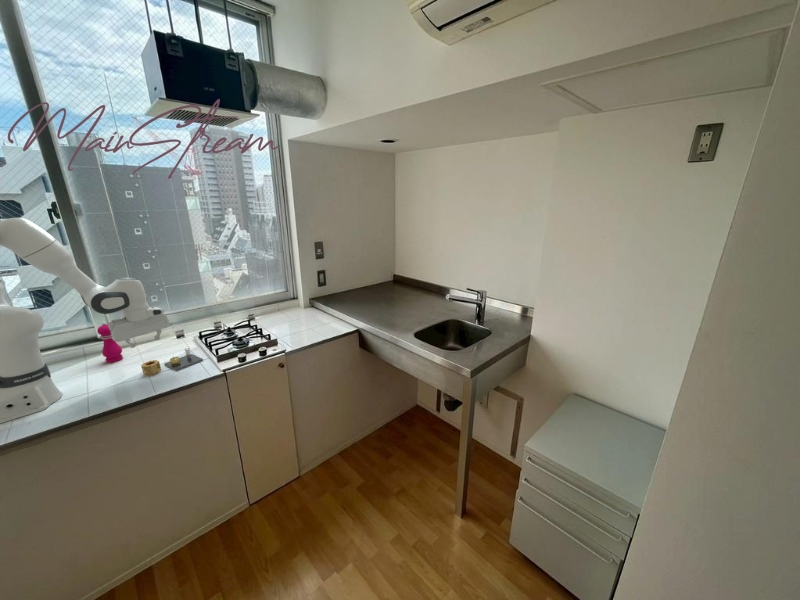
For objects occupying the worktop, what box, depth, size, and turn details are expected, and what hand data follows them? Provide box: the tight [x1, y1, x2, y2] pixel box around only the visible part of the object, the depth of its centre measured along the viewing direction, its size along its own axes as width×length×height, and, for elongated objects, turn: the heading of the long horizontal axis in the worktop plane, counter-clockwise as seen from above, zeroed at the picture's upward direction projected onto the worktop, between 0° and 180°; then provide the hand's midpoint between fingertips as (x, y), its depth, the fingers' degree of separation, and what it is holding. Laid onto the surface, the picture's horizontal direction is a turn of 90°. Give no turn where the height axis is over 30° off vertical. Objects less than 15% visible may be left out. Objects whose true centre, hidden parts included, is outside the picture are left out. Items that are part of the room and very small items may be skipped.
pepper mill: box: [97, 321, 124, 364], centre depth 152 cm, size 7×7×20 cm
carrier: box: [164, 347, 204, 372], centre depth 151 cm, size 12×11×6 cm
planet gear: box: [141, 359, 162, 377], centre depth 143 cm, size 6×6×4 cm
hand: (145, 343), depth 139 cm, fingers open, 8 cm apart
